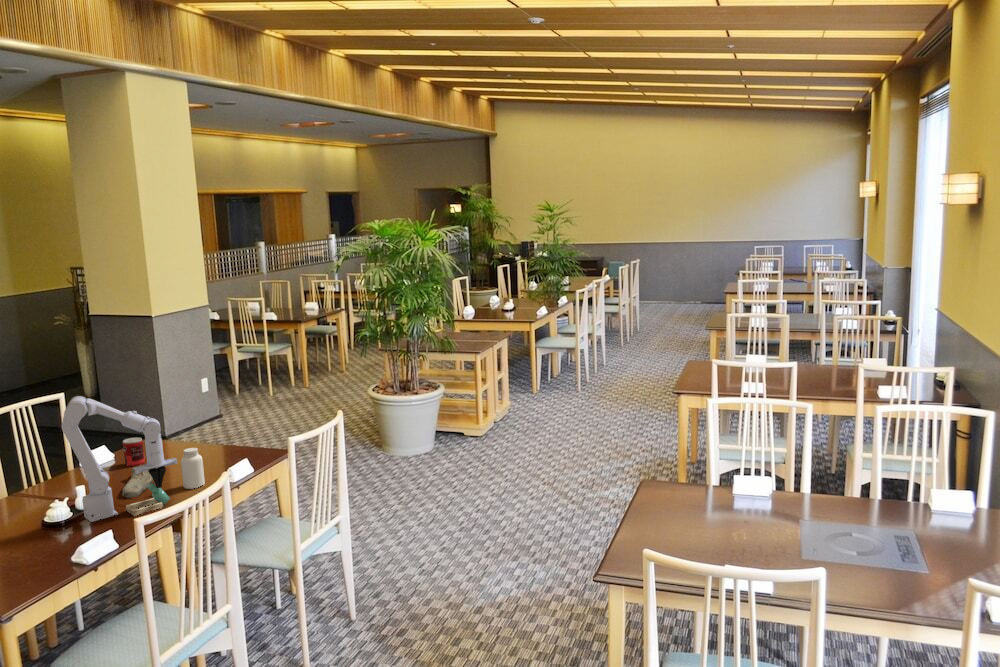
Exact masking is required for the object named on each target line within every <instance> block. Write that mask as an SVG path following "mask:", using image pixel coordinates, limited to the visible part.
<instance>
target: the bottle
mask: <svg viewBox="0 0 1000 667" xmlns="http://www.w3.org/2000/svg"><path fill="white" fill-rule="evenodd" d="M146 489H147V490H149V491H151V492H152V493H151V497H152V498H155V500H156V503H160V502H162V503H163V506H164V505H166V504H167V503H168V502H169V501H170V499H171V497H170V496H169V495H168V494H167V493H166V492H165V490H163V488H162V487H161V488H157V487H156V485H155V482H152V483H150V485H149V486H148V487H147V488H146Z"/></svg>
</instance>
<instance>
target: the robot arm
mask: <svg viewBox="0 0 1000 667" xmlns="http://www.w3.org/2000/svg"><path fill="white" fill-rule="evenodd" d="M87 413H88V414H87ZM86 415H88V416H93V415H100V416H103V417H106V418H110V419H114V420H117V421H118V422H120V423H121V425H122V426H123V427H125V428H128V429H131V430H134V431H136V432H138V433H143V435H144V439H145V440H144V446H145V447H144V448H145V453H146V454H145V455H146V461H147V462H146V463H144V464H142V465H141V466H139V467H138V466H135V467H136V468H135V473H136V474H139V473H141V472H145V471H148V472H149V473H150V475H151V476H152V478H153V483H154V484H155V486H156V487H157V488H161V489H162V487H163V480H164V477H165V474H166V472H167V468H166V467H168V466H172V465H178V458H175V457H174V458H173V457H172V458H168V459H165V455H164V449H163V448H164V447H163V446H164V445H163V440H162V439H163V438H162V433H161V431H162V428H161V423H160V422H159V420H158V419H156V418H154V417H150V416H148V415H147V416H144V415H142V414H139V413H138V411H136V410H133V411H131V410H128V411H125V412H124V411H123V410H122V411H121V410H118V409H116V408H115V407H112V406H109V405H107V404H105V403H102V402H100V401H97V400H95V399H93V398H90V397H89V398H88V397H87V398H86V397H85V396H82V395H76V396H73V397H72V398H71V399H70V401H69V402H68V403H67V405H66V408H65V410H64V412H63V417H62V422H61V431H62V432H63V434H64V436H65V437H66V440H67V442H68V443H69V446H70V447H71V449H72V450H73V452H74V454H75V456H76V458H77V460H78V462H79V463H80V466H81V468H82V469H83V470H84V473H85V477H86V480H87V482H88V491H89V492H88V494H86V495H83V496H82V498H81V500H82V508H83V514H84V516H83V517H84V518H85V519H86V520H87V519H88V520H89V521H90V522H89V521H88V520H87V521H88V522H89V523H93V522H96V521H101V520H103V519H104V520H105V519H107V518H110V517H111V518H112V517H114V515H115V516H118V515H119V513H118V512H117V510H115V505H114V498H113V491H112V487H110V486H109V482H110V475H109V474H108V472H106V471H105V470H104V469H103V468H102V466H101V465H100V464H99V462H98V461H97V459H96V458H95V456H94V453H93V452H92V450H91V448H90V446H89V444H88V442H87V441H86V438H85V437H84V435H83V433H82V431H81V429H80V428H79V425H80V422H81V420H82V419H84V417H85V416H86ZM100 519H101V520H100Z"/></svg>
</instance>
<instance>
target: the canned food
mask: <svg viewBox="0 0 1000 667" xmlns="http://www.w3.org/2000/svg"><path fill="white" fill-rule="evenodd" d="M122 447H123V455H124V463H125V466H126V465H128V466H127V467H129V466H133V467H136V466H135V465H140V464H142V465H144V464H145V463H144V462H146V461H145V460H146V457H145V450H144V449H145V448H144V443H143V439H142V437H129V438H125V439H123V440H122ZM143 463H144V464H143Z"/></svg>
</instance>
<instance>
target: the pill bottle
mask: <svg viewBox="0 0 1000 667" xmlns="http://www.w3.org/2000/svg"><path fill="white" fill-rule="evenodd" d="M182 452H183V456H182V457H181V460H180V466H181V474H182V476H181V477H182V483H183V484H182V485H183V488H184V489H186V490H192V489H193V490H194V488H195V489H198V487H199V488H201V487H200V486H202V485H203V486H205V484H206V483H205V472H204V463H203V462H204V461H203V457H202V455H200V454H199V448H197V447H190V448H189V447H188V448H185V449H184V450H182ZM203 486H202V487H203Z"/></svg>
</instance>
